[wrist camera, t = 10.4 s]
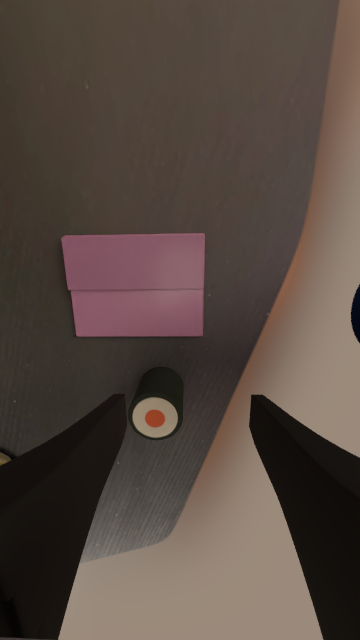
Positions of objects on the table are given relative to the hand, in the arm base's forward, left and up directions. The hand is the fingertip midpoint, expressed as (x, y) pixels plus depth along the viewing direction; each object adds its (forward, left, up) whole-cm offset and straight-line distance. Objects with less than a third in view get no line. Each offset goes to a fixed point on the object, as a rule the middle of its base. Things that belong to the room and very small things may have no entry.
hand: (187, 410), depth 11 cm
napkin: (+5, -6, -8) cm, 11 cm away
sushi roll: (+3, +4, -8) cm, 9 cm away
